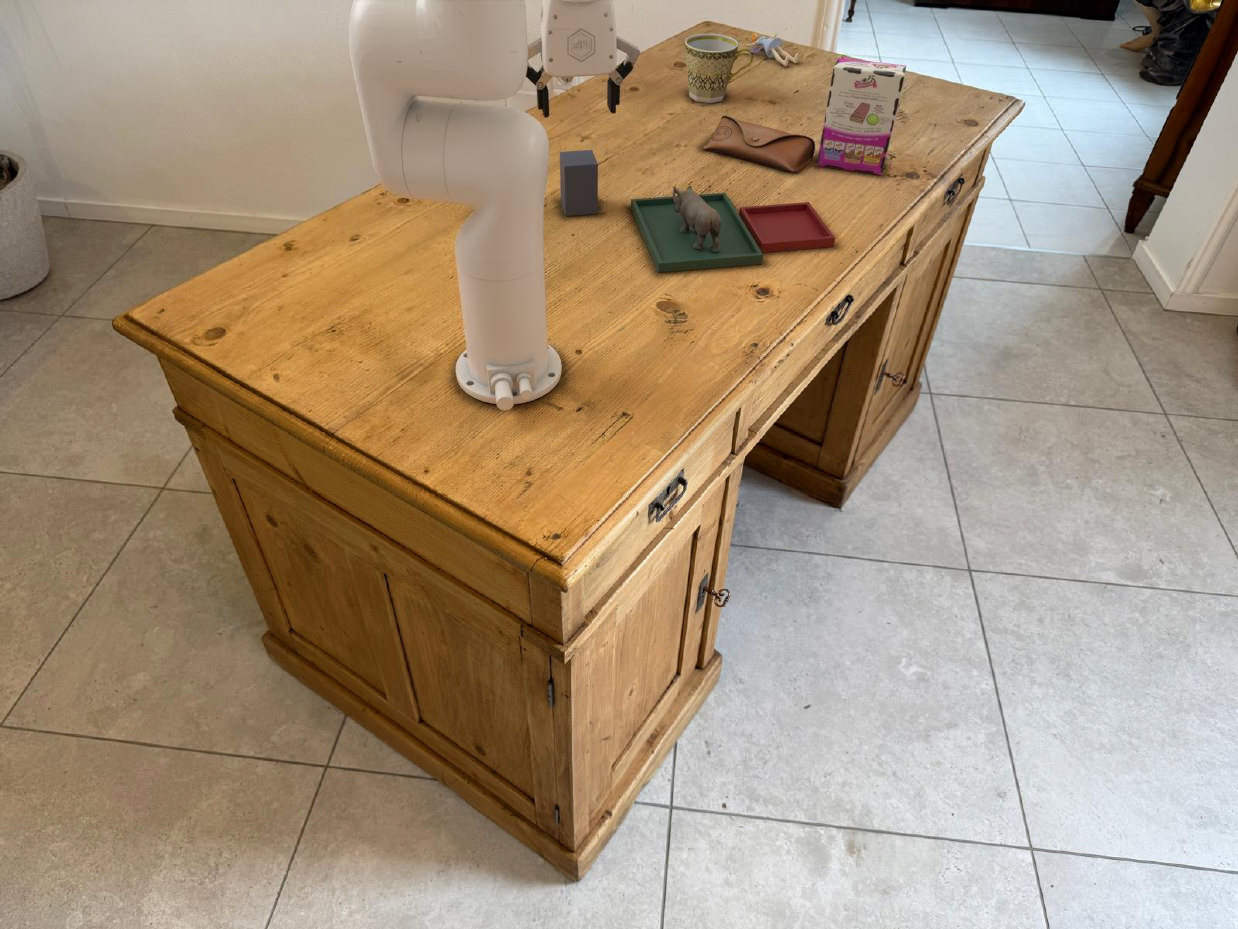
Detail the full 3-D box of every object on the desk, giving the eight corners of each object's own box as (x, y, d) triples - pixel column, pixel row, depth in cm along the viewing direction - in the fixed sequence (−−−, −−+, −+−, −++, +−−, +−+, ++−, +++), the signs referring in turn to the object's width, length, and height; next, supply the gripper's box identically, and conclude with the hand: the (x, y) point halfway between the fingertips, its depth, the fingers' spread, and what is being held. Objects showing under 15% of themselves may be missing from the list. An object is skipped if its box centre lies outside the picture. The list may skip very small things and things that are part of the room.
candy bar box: (884, 164, 150) (908, 64, 139) (881, 176, 147) (906, 75, 135) (819, 154, 152) (837, 55, 141) (815, 166, 149) (833, 65, 138)
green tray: (761, 263, 125) (763, 254, 124) (658, 272, 123) (658, 263, 122) (724, 201, 139) (725, 192, 138) (630, 207, 137) (630, 198, 136)
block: (597, 213, 135) (598, 163, 129) (565, 216, 134) (564, 166, 129) (592, 198, 139) (592, 149, 133) (560, 200, 138) (559, 151, 132)
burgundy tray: (833, 246, 129) (835, 237, 128) (760, 252, 128) (762, 243, 127) (807, 210, 137) (808, 201, 136) (738, 215, 136) (739, 206, 135)
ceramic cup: (675, 102, 168) (679, 47, 161) (687, 83, 175) (692, 30, 168) (742, 111, 165) (749, 56, 158) (752, 92, 172) (759, 38, 165)
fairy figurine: (776, 53, 178) (735, 30, 184) (770, 76, 182) (730, 53, 187) (813, 42, 184) (772, 20, 189) (807, 65, 187) (767, 42, 193)
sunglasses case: (699, 147, 152) (711, 108, 150) (712, 155, 158) (723, 117, 156) (797, 173, 146) (810, 131, 144) (806, 179, 152) (819, 140, 150)
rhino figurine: (685, 208, 136) (688, 171, 132) (725, 251, 127) (730, 213, 122) (661, 212, 135) (663, 175, 130) (699, 256, 125) (703, 218, 121)
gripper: (514, -8, 111) (521, 126, 123) (648, -13, 113) (642, 118, 125) (507, -26, 116) (515, 104, 128) (636, -30, 118) (632, 97, 130)
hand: (578, 111), depth 126 cm, fingers open, 9 cm apart
